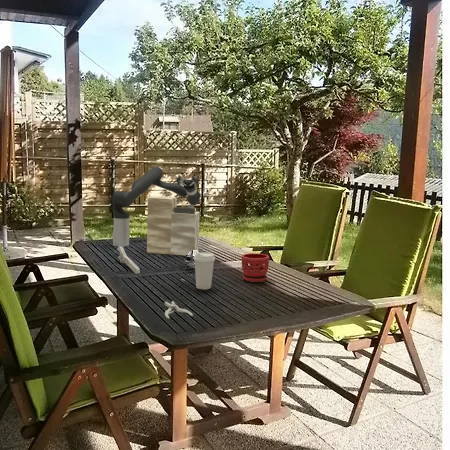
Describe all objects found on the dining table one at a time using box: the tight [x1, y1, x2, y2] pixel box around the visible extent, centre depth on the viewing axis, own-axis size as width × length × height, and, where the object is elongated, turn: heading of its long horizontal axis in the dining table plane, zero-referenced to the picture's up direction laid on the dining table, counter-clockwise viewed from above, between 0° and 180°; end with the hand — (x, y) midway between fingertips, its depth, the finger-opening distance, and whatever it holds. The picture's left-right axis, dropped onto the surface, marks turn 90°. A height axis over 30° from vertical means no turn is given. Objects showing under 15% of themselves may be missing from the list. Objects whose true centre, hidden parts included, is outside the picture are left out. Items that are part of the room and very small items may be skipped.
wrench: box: [116, 246, 141, 275], centre depth 237 cm, size 8×2×30 cm
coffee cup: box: [193, 252, 216, 290], centre depth 206 cm, size 10×10×15 cm
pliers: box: [164, 300, 194, 320], centre depth 176 cm, size 10×2×15 cm
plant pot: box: [241, 252, 270, 283], centre depth 222 cm, size 13×13×12 cm
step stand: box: [146, 195, 201, 256], centre depth 272 cm, size 12×28×32 cm, turn 82°
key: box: [174, 204, 197, 214], centre depth 275 cm, size 20×12×3 cm, turn 172°
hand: (185, 176), depth 296 cm, fingers open, 8 cm apart
